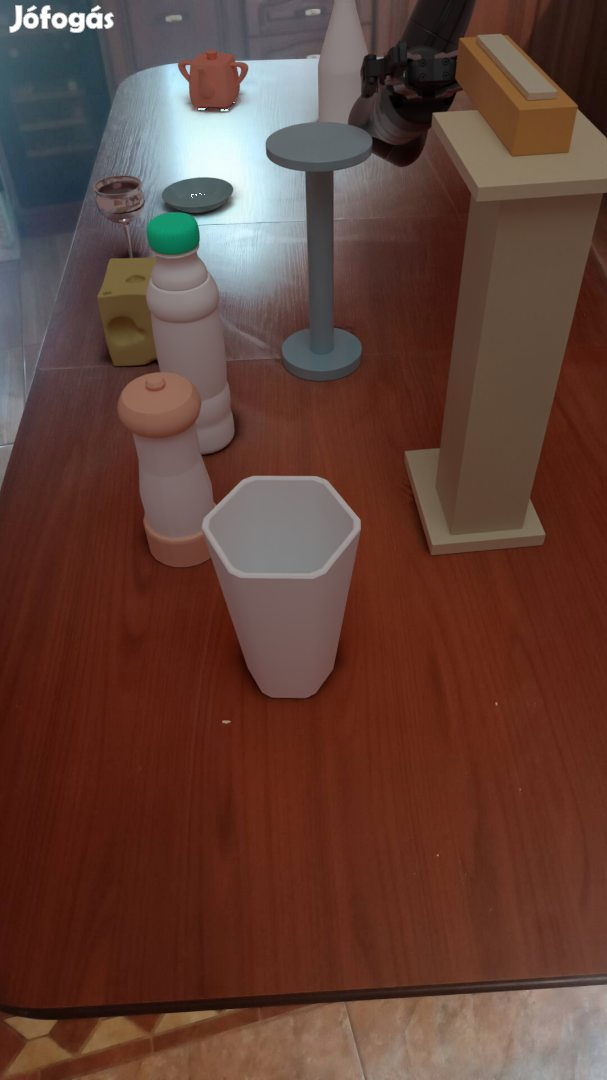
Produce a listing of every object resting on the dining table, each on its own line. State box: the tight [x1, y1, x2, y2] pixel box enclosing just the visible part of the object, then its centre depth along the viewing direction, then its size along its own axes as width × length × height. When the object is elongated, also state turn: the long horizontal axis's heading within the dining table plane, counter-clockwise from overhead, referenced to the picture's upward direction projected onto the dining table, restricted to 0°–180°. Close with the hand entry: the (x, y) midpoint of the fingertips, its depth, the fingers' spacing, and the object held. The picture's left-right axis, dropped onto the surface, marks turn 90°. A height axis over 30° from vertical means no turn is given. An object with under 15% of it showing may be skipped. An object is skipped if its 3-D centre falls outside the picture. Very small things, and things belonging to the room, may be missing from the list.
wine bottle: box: [317, 0, 369, 124], centre depth 143 cm, size 10×10×30 cm
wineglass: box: [92, 174, 146, 258], centre depth 115 cm, size 7×7×12 cm
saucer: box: [161, 176, 234, 214], centre depth 132 cm, size 12×12×2 cm
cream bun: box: [455, 33, 579, 156], centre depth 60 cm, size 17×4×4 cm, turn 6°
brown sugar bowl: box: [177, 49, 249, 110], centre depth 163 cm, size 14×12×10 cm
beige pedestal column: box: [403, 108, 607, 556], centre depth 69 cm, size 14×11×35 cm
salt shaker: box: [116, 371, 217, 568], centre depth 72 cm, size 7×7×19 cm
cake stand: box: [265, 121, 373, 382], centre depth 91 cm, size 11×11×26 cm
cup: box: [201, 475, 362, 699], centre depth 62 cm, size 11×10×17 cm
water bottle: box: [146, 211, 235, 456], centre depth 81 cm, size 7×7×25 cm
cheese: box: [96, 256, 158, 367], centre depth 100 cm, size 10×11×10 cm
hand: (449, 50), depth 73 cm, fingers open, 8 cm apart
